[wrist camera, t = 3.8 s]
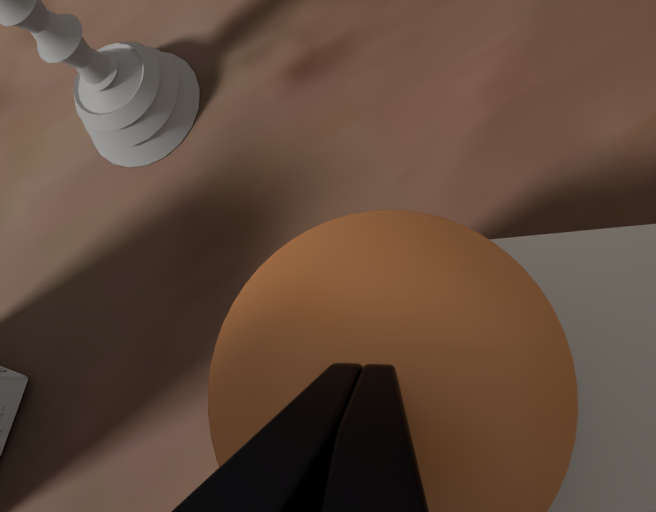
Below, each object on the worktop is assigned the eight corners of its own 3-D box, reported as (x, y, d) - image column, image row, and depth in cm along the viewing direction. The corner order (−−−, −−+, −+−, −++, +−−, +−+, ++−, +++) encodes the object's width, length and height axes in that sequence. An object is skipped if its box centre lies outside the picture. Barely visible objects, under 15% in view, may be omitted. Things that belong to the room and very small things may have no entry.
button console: (905, 274, 16) (1202, 164, 9) (973, 523, 14) (1395, 619, 7) (357, 311, 20) (273, 255, 13) (363, 509, 18) (271, 564, 11)
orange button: (595, 536, 10) (626, 581, 7) (292, 561, 11) (220, 607, 8) (525, 232, 11) (528, 174, 9) (265, 284, 13) (197, 248, 10)
